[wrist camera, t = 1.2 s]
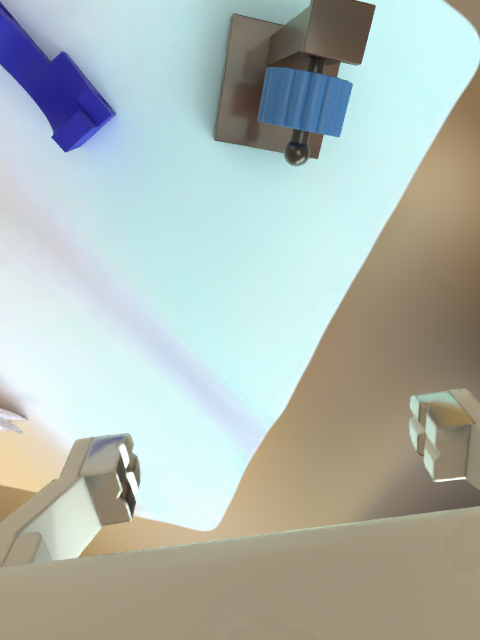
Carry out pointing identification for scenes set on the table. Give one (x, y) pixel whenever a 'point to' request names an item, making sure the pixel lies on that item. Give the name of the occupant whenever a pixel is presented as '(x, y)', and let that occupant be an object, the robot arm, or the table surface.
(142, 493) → the table surface
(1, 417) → the water lily
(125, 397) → the table surface
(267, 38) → the hook stand
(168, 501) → the table surface
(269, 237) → the table surface
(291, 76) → the fluted cylinder
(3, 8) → the cable clip
